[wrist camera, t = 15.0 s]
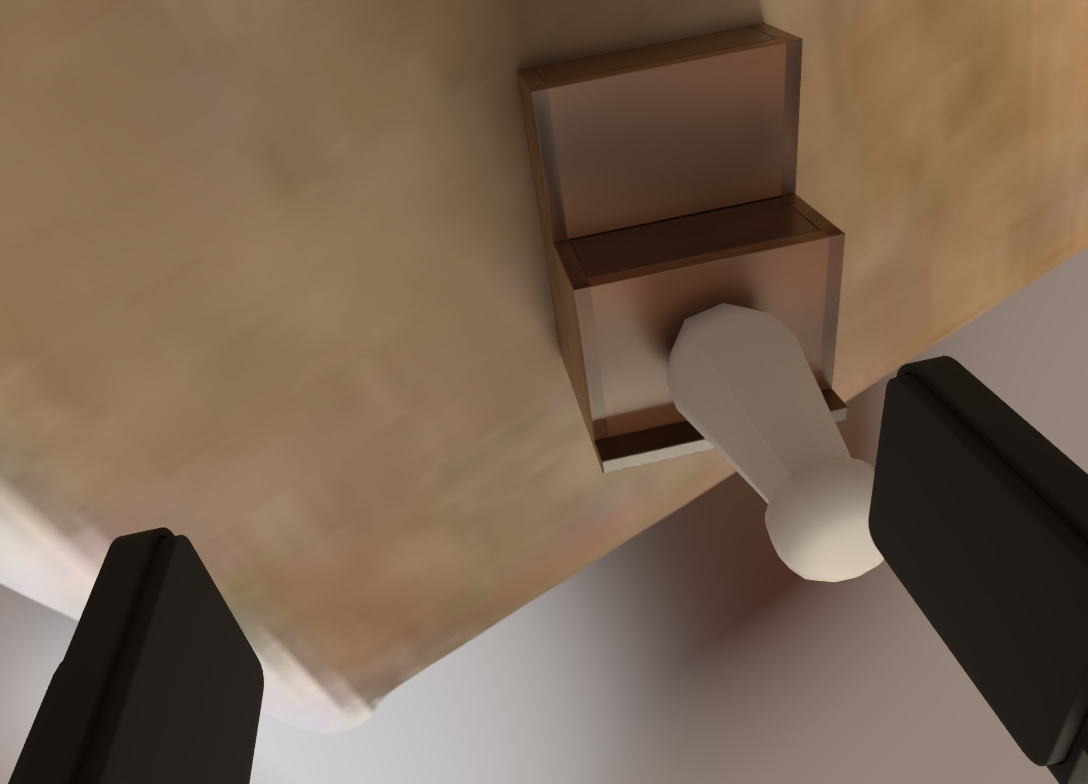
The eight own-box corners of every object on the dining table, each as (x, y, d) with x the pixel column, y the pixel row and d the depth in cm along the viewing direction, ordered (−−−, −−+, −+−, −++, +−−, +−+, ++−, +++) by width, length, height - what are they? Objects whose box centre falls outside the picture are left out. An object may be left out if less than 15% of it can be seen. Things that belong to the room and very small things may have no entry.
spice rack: (517, 70, 36) (558, 135, 27) (766, 23, 37) (883, 71, 28) (561, 358, 45) (603, 474, 36) (759, 315, 46) (846, 420, 37)
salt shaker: (778, 274, 34) (955, 460, 23) (775, 380, 37) (930, 587, 26) (648, 302, 34) (767, 504, 23) (657, 407, 37) (765, 626, 26)
